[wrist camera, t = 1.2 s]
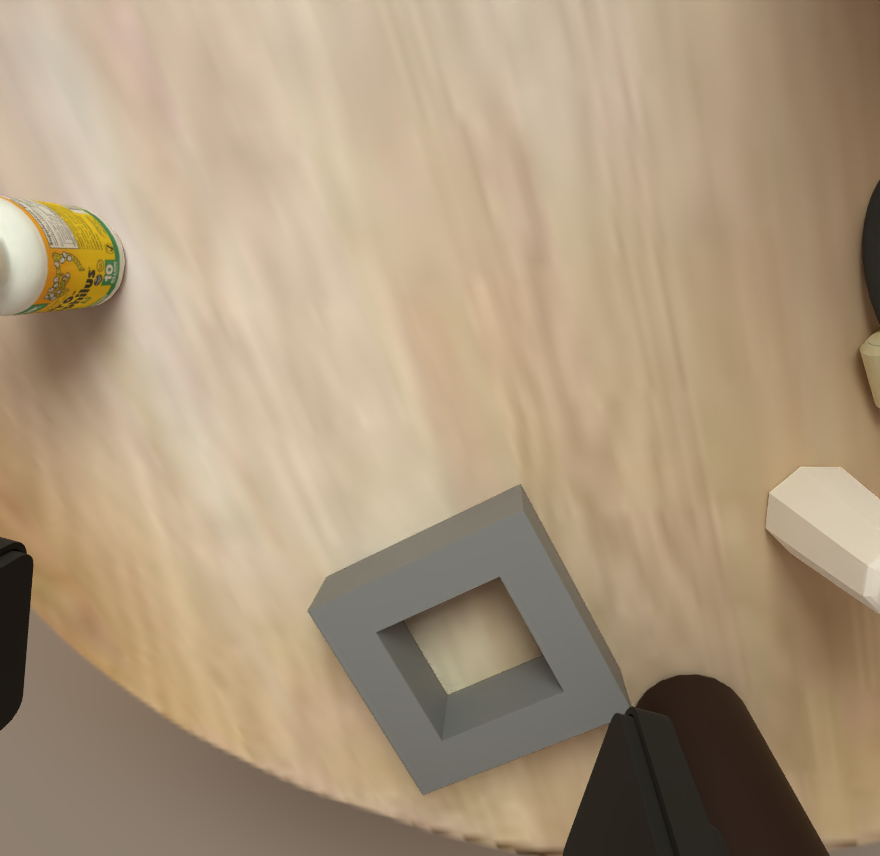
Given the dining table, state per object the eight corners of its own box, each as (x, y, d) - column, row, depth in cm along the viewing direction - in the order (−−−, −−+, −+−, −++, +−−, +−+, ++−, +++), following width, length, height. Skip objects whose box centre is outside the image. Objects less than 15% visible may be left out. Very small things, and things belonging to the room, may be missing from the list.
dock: (520, 484, 36) (523, 509, 32) (620, 668, 38) (633, 713, 35) (326, 576, 39) (307, 610, 35) (430, 745, 41) (422, 795, 37)
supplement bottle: (86, 186, 35) (-66, 156, 25) (148, 272, 35) (23, 273, 26) (16, 245, 36) (-153, 236, 26) (78, 326, 36) (-66, 346, 27)
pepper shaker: (779, 569, 36) (896, 694, 25) (748, 484, 35) (857, 577, 24) (878, 535, 35) (1043, 651, 25) (850, 447, 34) (1008, 527, 24)
